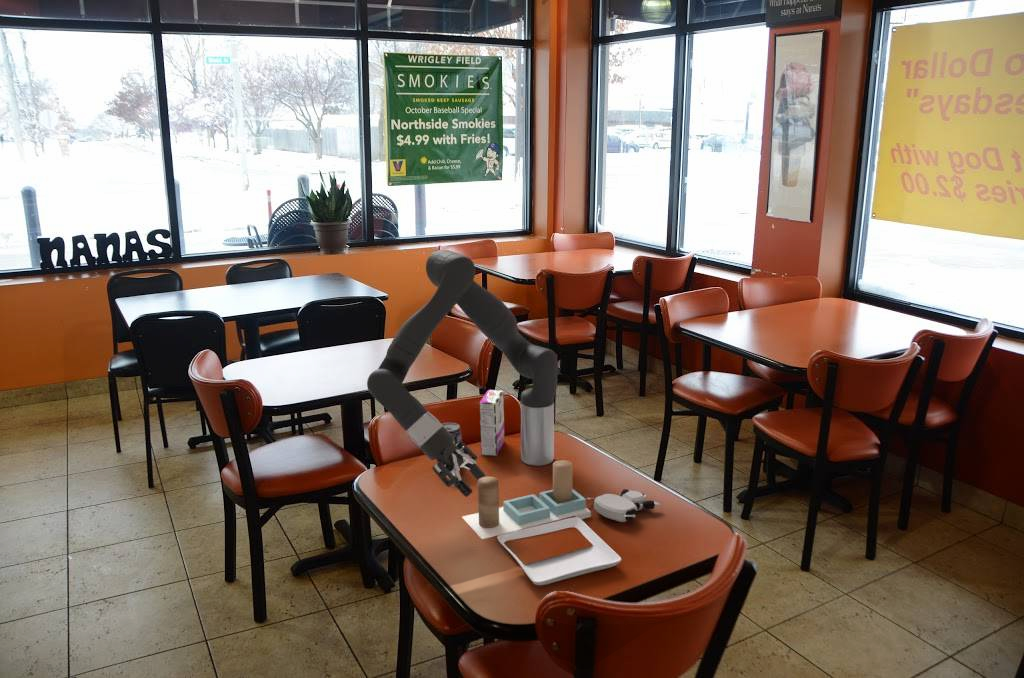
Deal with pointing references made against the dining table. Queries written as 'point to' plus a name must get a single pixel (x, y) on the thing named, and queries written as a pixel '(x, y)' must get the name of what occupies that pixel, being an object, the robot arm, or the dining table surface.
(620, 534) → the dining table surface
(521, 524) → the base board
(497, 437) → the candy bar box
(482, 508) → the walnut column
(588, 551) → the salad plate
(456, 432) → the beverage can
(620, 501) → the robot toy
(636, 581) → the dining table surface
